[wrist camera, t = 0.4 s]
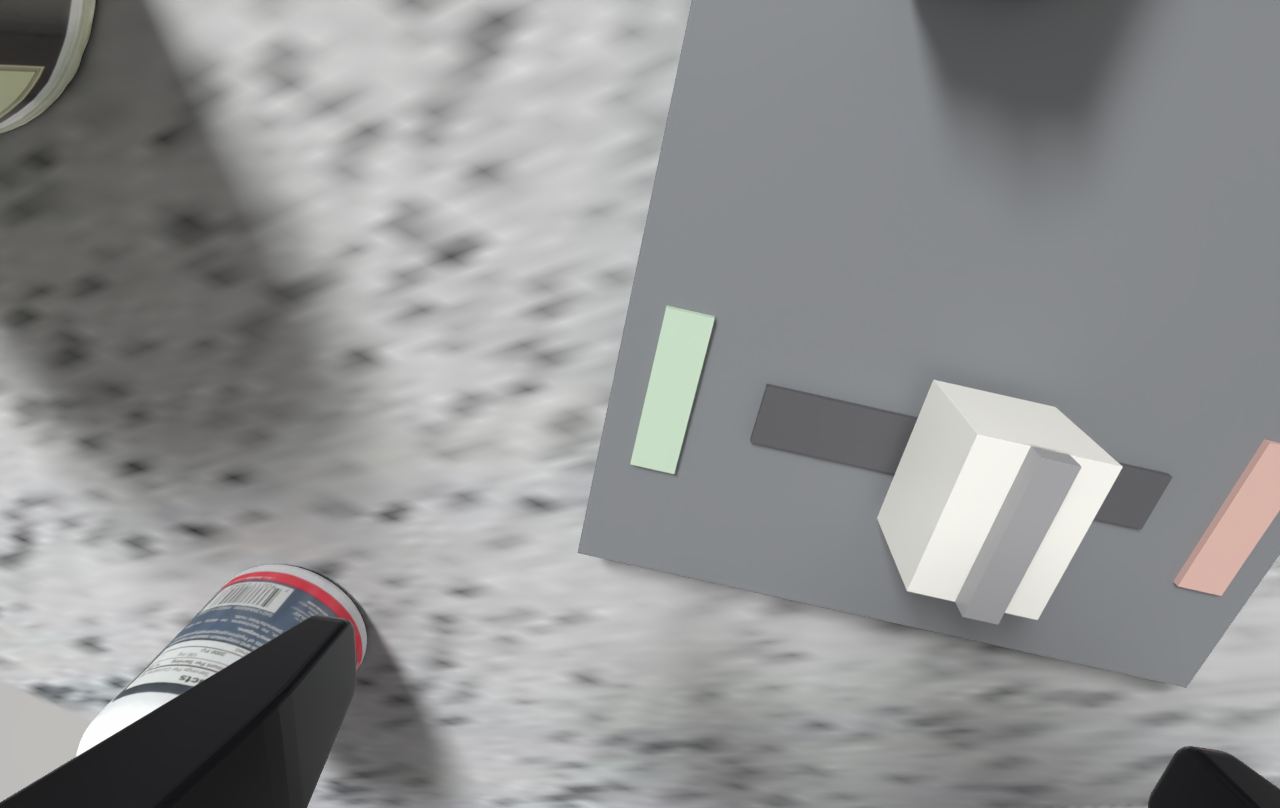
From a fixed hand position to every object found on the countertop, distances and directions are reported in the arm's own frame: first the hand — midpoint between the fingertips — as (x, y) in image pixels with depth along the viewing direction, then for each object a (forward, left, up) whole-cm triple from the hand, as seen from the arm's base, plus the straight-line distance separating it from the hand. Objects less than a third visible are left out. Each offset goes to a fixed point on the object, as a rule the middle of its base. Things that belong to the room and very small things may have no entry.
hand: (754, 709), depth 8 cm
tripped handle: (-6, +1, -11) cm, 12 cm away
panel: (-6, -5, -13) cm, 15 cm away
